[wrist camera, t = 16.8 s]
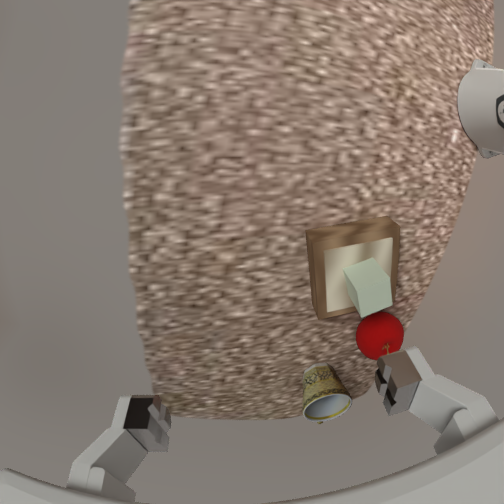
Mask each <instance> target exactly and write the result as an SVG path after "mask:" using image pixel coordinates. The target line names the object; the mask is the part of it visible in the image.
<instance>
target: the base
mask: <svg viewBox="0 0 504 504" xmlns="http://www.w3.org/2000/svg"><path fill="white" fill-rule="evenodd" d="M305 232H306V242H307V251H308V261H309V272H310V283H311V295H312V304H313V307H314V310H315V312H316V315H317V318H318V320H320V319H324V318H329V317H333V316H338V315H342V314H346V313H351V312H355V311H357V309H356V307H355V305H354V303H353V302H352V300H351V298H350V296H349V295H348V290H347V285H346V281H345V276H344V272H343V268H346V267H349V266H351V265H354V264H357V263H359V262H362V261H365V260H367V259H370V258H372V257H373V258H374V259H375V260H376V262H377V263H378V264H379V265H380V266H381V268H382V269H383V270H384V271H385V273H386V274H387V275H388V276H389V277H390V284H391V295H392V302H394V301H395V294H396V284H397V273H398V261H399V244H400V226H399V225H398V224H396V223H395V222H394V221H393V220H391V219H390V218H389V217H388V216H384V217H378V218H373V219H367V220H361V221H355V222H350V223H344V224H338V225H333V226H327V227H321V228H316V229H310V230H305Z"/></svg>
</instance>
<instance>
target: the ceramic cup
mask: <svg viewBox="0 0 504 504" xmlns="http://www.w3.org/2000/svg"><path fill="white" fill-rule="evenodd" d="M351 405H352V398H351V396H350V394H349V393H348V391H347V389H346V388H345V387H344V385H343V384H342V382H341V381H340V379H339V377H338V376H337V374H336V372H335V371H334V369H333V368H332V367H331V366H329V365H328V364H327V363H318V364H314V365H312V366H311V367H309V368H308V369H306V370H305V372H304V376H303V416H304V417H305V418H306V419H307V420H310V421H315V422H318V424H321V423H323V421H327V420H331V419H334V418H336V417H338V416H340V415H342V414H343V413H345V412H346V411H347V410H348V409H349V408H350V407H351Z"/></svg>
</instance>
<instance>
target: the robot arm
mask: <svg viewBox="0 0 504 504" xmlns="http://www.w3.org/2000/svg"><path fill="white" fill-rule="evenodd" d="M458 112H459V116H460V120H461V123H462V126H463V128H464V130H465V132H466V133H467V135H468V136H469V138H470V139H471V140H472V141H473V142H474V143H475V144H476V145H477V147H478V150H479V152H480V154H481V156H482V157H483V158H490V157H493V156H496V155H498V154H504V69H497V68H495V67H493V66H491V65H489V64H488V63H486V62H484V61H482V60H479V59H475V60H474V62H473V64H472V67H471V70H470V71H469V72H468V73H467V74H466V75H465V76H464V77H463V79H462V81H461V83H460V86H459V90H458ZM377 365H378V367H379V368H378V369H377V370H376V372H375V383H376V387H377V390H378V392H379V394H380V395H382V396H384V401H383V404H384V406H385V408H386V411H387V413H388V415H389V416H390V415H393V414H397V413H400V412H403V411H406V410H409V411H410V412H411V413H413V414H414V415H416V416H417V417H419V418H420V419H422V420H423V421H424V422H426V423H427V424H428V425H430V426H431V427H433V428H434V429H436V430H437V431H438V432H440V433H441V435H440V437H439V438H438V440H437V441H436V443H435V445H434V448H435V451H436V453H437V455H436V456H434V457H432V458H430V459H427V460H425V461H423V462H421V463H418V464H416V465H413V466H411V467H408V468H406V469H404V470H401V471H398V472H395V473H393V474H390V475H387V476H384V477H381V478H379V479H375V480H372V481H369V482H366V483H362V484H359V485H356V486H352V487H348V488H345V489H341V490H337V491H333V492H329V493H324V494H319V495H314V496H309V497H305V498H299V499H292V500H286V501H279V502H271V503H262V504H504V418H502V419H501V420H498V418H497V416H496V414H495V413H494V411H493V409H492V408H491V406H490V405H489V403H488V401H487V400H486V398H485V397H484V396H482V395H480V394H478V393H476V392H474V391H472V390H470V389H468V388H466V387H463V386H462V385H460V384H458V383H456V382H453V381H451V380H449V379H447V378H445V377H443V376H441V375H439V374H438V375H435V374H434V373H433V371H432V369H431V368H430V366H429V365H428V363H427V362H426V360H425V358H424V357H423V355H422V354H421V352H420V351H419V349H418V347H416V346H412V347H410V348H406V349H404V350H399V351H396V352H393V353H390V354H387V355H384V356H381V357H379V358H378V361H377ZM161 402H162V399H161V398H160V397H159V395H122V396H121V397H120V398H119V401H118V404H117V408H116V412H115V415H114V419H113V422H112V426H111V428H108V429H107V430H106V431H105V432H103V434H102V435H100V436H99V437H98V438H97V439H96V440H95V441H94V442H93V443H92V444H91V445H90V446H89V447H88V448H87V449H86V450H85V451H84V452H83V453H82V454H81V455H80V456H79V457H78V458H77V459H76V460H75V461H74V462H73V464H72V468H71V471H70V475H69V479H68V483H67V487H66V488H64V487H61V486H57V485H54V484H51V483H48V482H45V481H42V480H38V479H36V478H33V477H30V476H27V475H25V474H22V473H20V472H17V471H14V470H12V469H9V468H5V469H3V470H1V471H0V504H147V503H139V502H135V495H136V493H135V492H134V490H132V489H131V488H129V487H128V486H126V485H125V483H126V482H127V481H128V479H129V478H130V477H131V475H132V474H133V473H134V471H135V470H136V469H137V467H138V466H139V464H140V463H141V462H142V461H143V459H144V458H145V456H146V455H147V454H148V452H167V451H168V444H169V436H168V435H167V434H166V433H167V432H168V430H169V429H170V428H171V416H170V413H169V410H168V408H167V407H166V406H164V405H163V404H161Z"/></svg>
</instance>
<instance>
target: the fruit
mask: <svg viewBox="0 0 504 504" xmlns="http://www.w3.org/2000/svg"><path fill="white" fill-rule="evenodd" d="M403 337H404V330H403V327H402V324H401V322H400V321H399V320H398V319H397V318H396V317H394V316H393V315H391V314H389V313H386V312H375V313H372V314H370V315H369V316H367V317H366V318H365V319H363V320H362V322H361V323H360V324H359V326H358V328H357V332H356V341H357V345H358V347H359V349H360V351H361V352H362V353H363V354H364V355H365V356H366V357H368V358H370V359H373V360H378V358H379V357H381V356H384V355H387V354H390V353H393V352H396V351H399V349H400V347H401V345H402V342H403Z"/></svg>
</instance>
